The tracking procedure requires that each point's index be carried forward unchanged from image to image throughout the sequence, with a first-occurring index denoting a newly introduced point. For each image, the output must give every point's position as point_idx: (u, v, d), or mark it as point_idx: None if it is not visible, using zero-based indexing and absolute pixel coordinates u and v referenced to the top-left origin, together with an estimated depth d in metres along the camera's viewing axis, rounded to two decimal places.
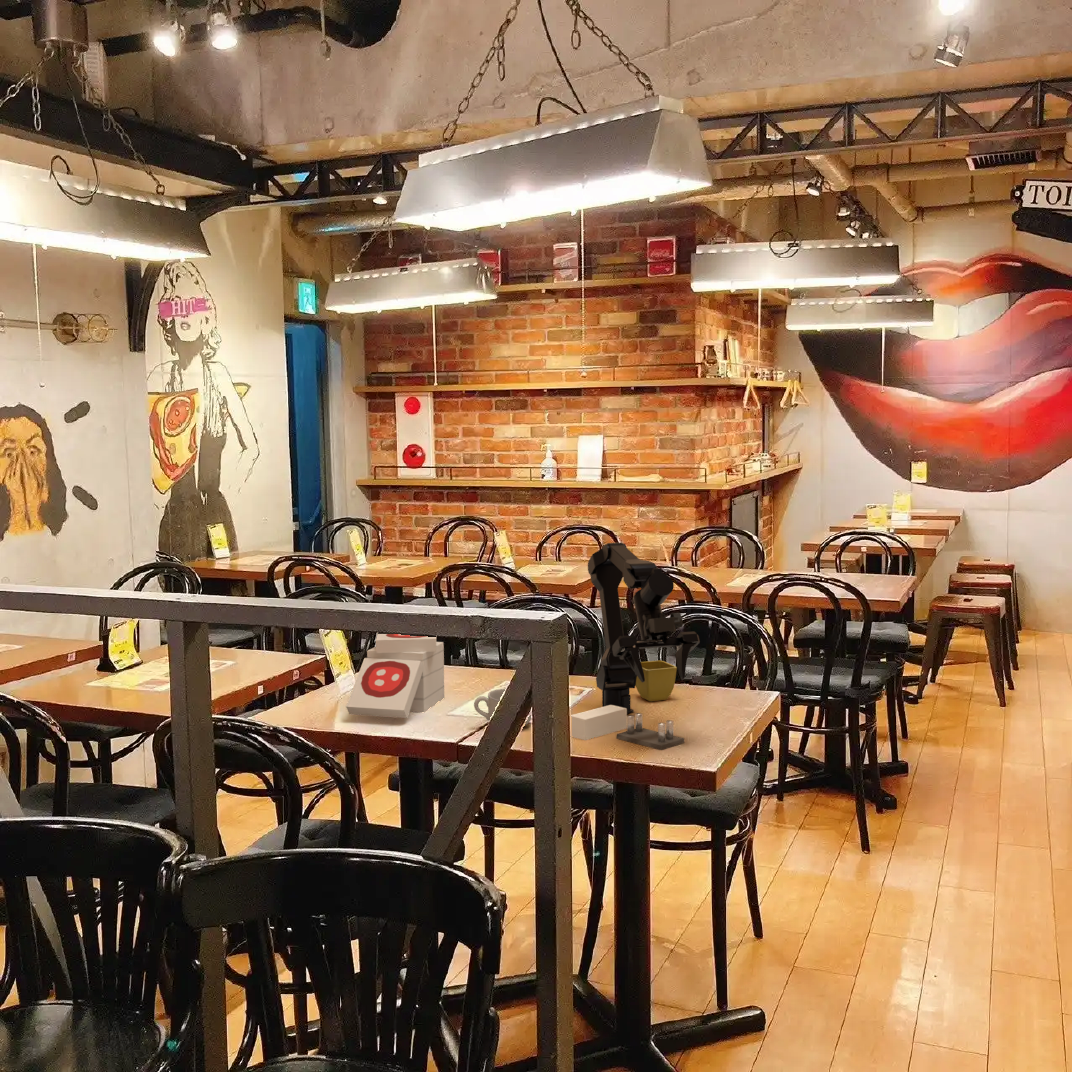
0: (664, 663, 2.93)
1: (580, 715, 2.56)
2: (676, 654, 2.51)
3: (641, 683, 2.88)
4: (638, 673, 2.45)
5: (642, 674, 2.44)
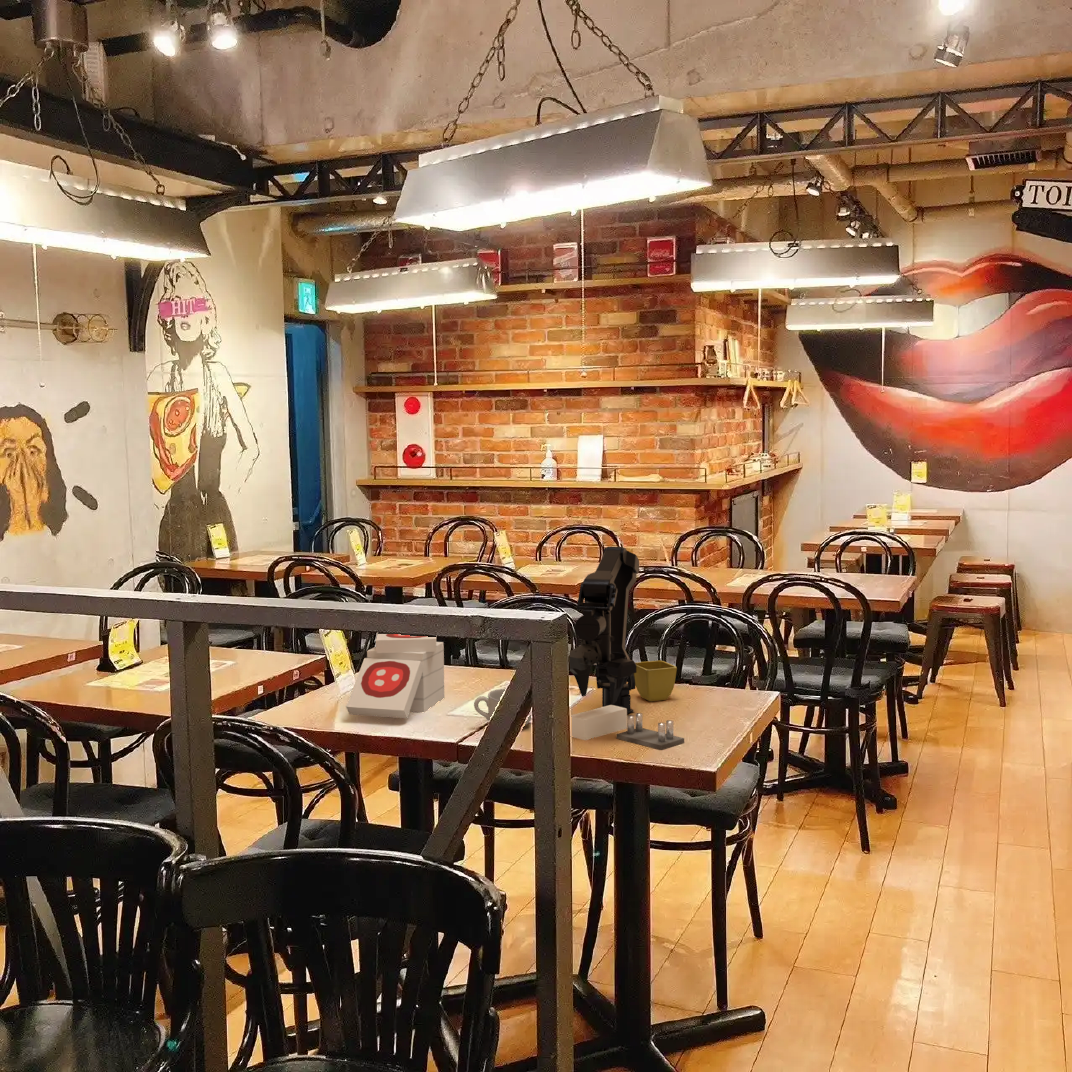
0: (664, 663, 2.93)
1: (580, 715, 2.56)
2: None
3: (641, 683, 2.88)
4: None
5: (580, 690, 2.62)
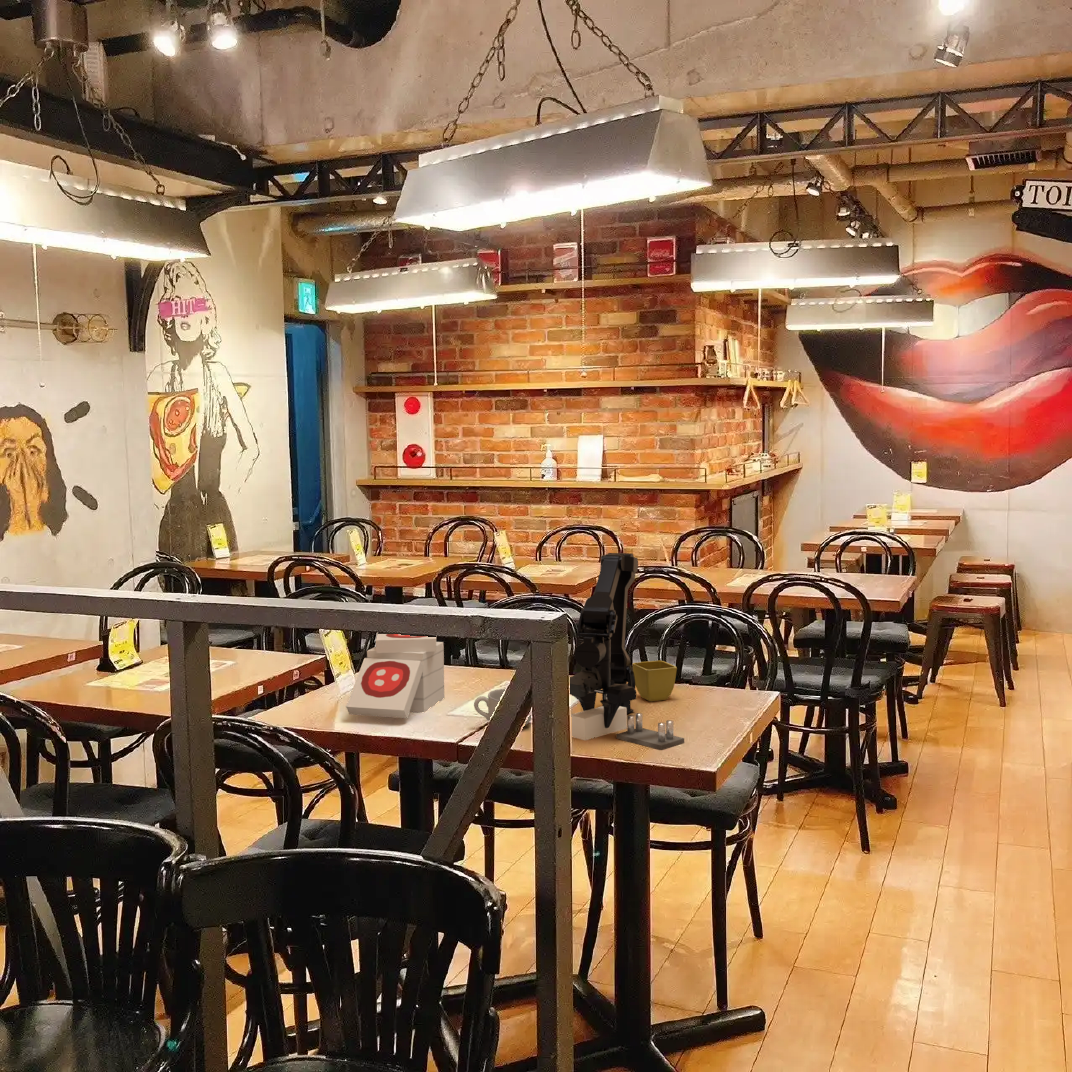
0: (664, 663, 2.93)
1: (580, 714, 2.56)
2: None
3: (641, 683, 2.88)
4: None
5: None
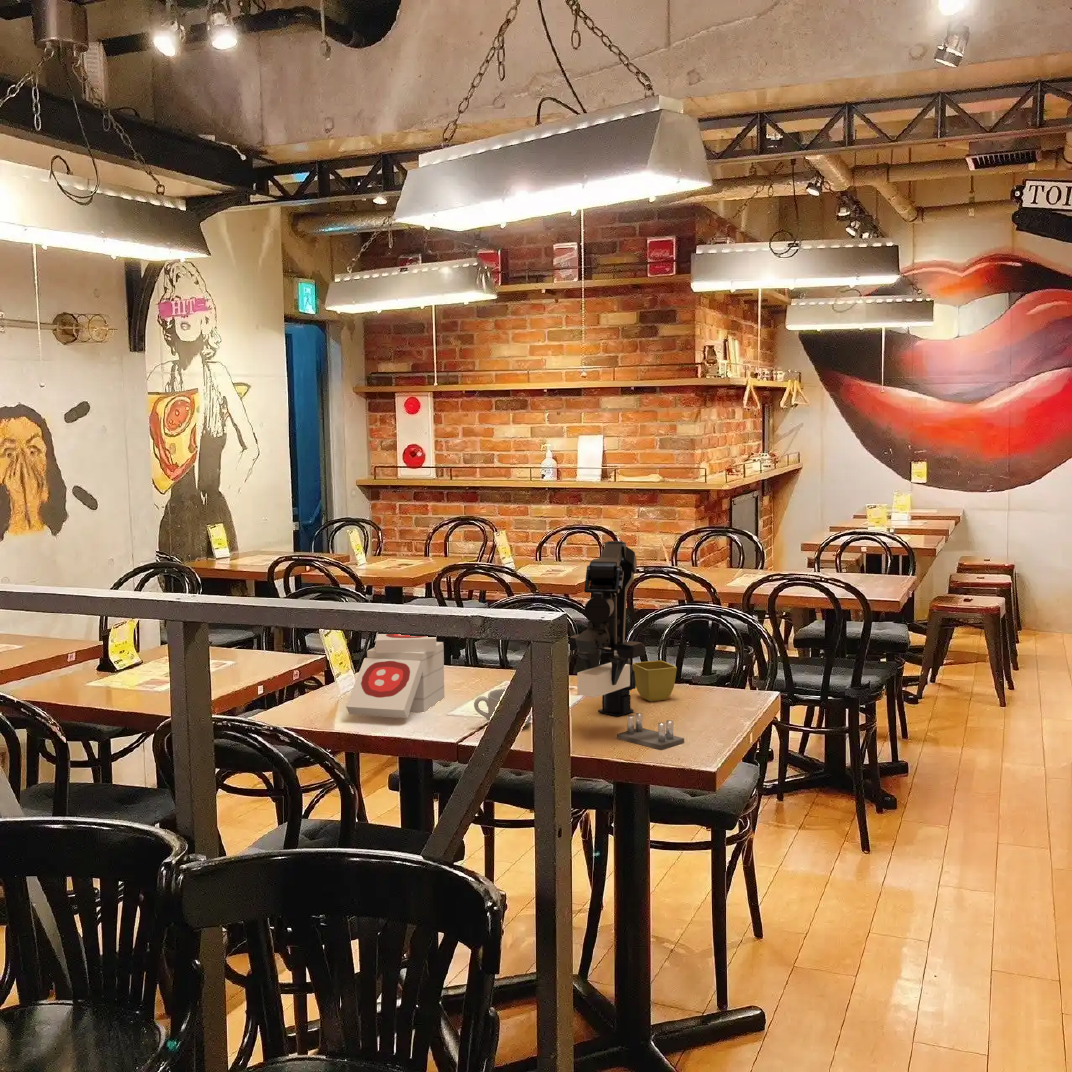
0: (664, 663, 2.93)
1: (588, 671, 2.54)
2: None
3: (641, 683, 2.88)
4: None
5: None
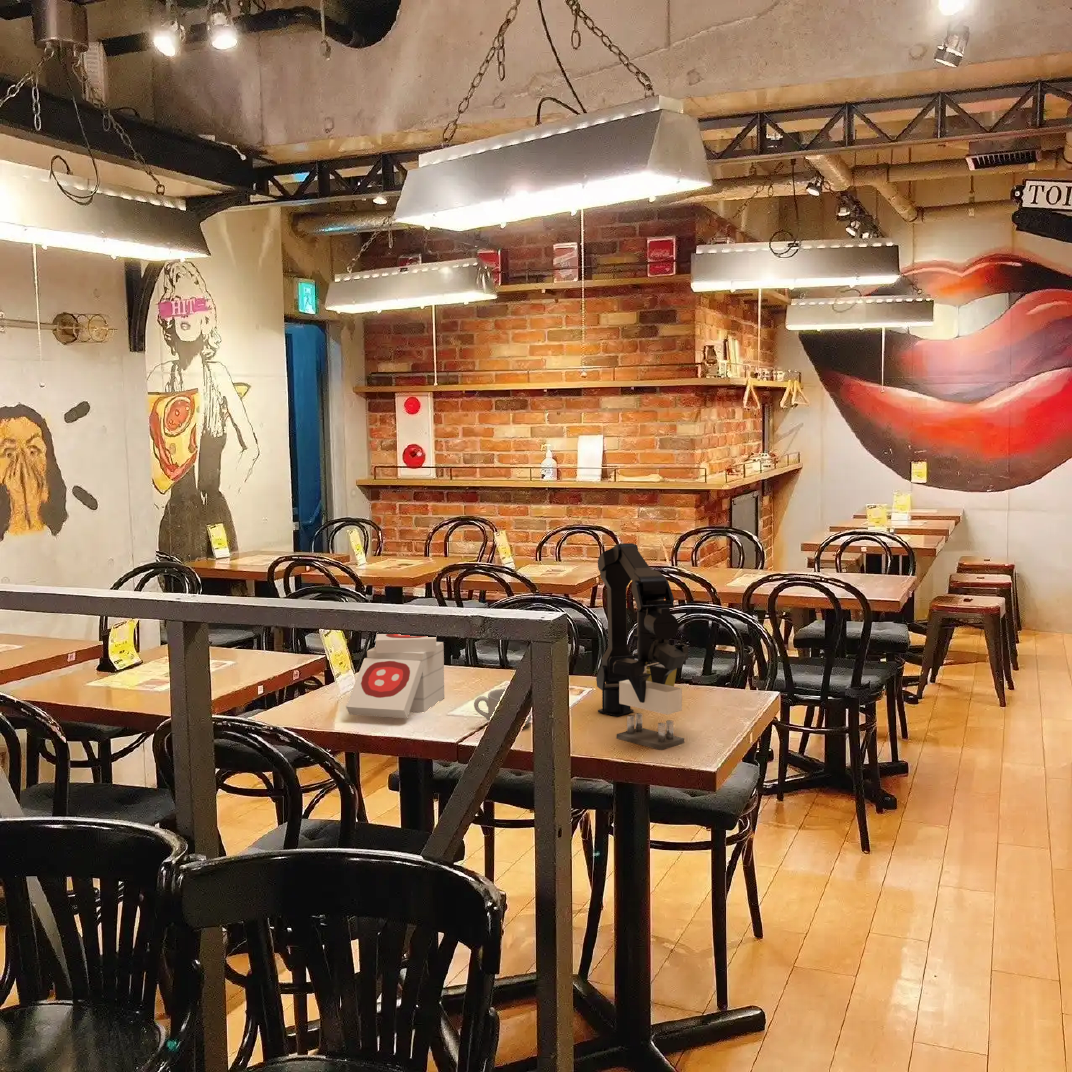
0: None
1: (665, 689, 2.47)
2: (653, 668, 2.54)
3: None
4: (639, 694, 2.49)
5: (644, 696, 2.49)
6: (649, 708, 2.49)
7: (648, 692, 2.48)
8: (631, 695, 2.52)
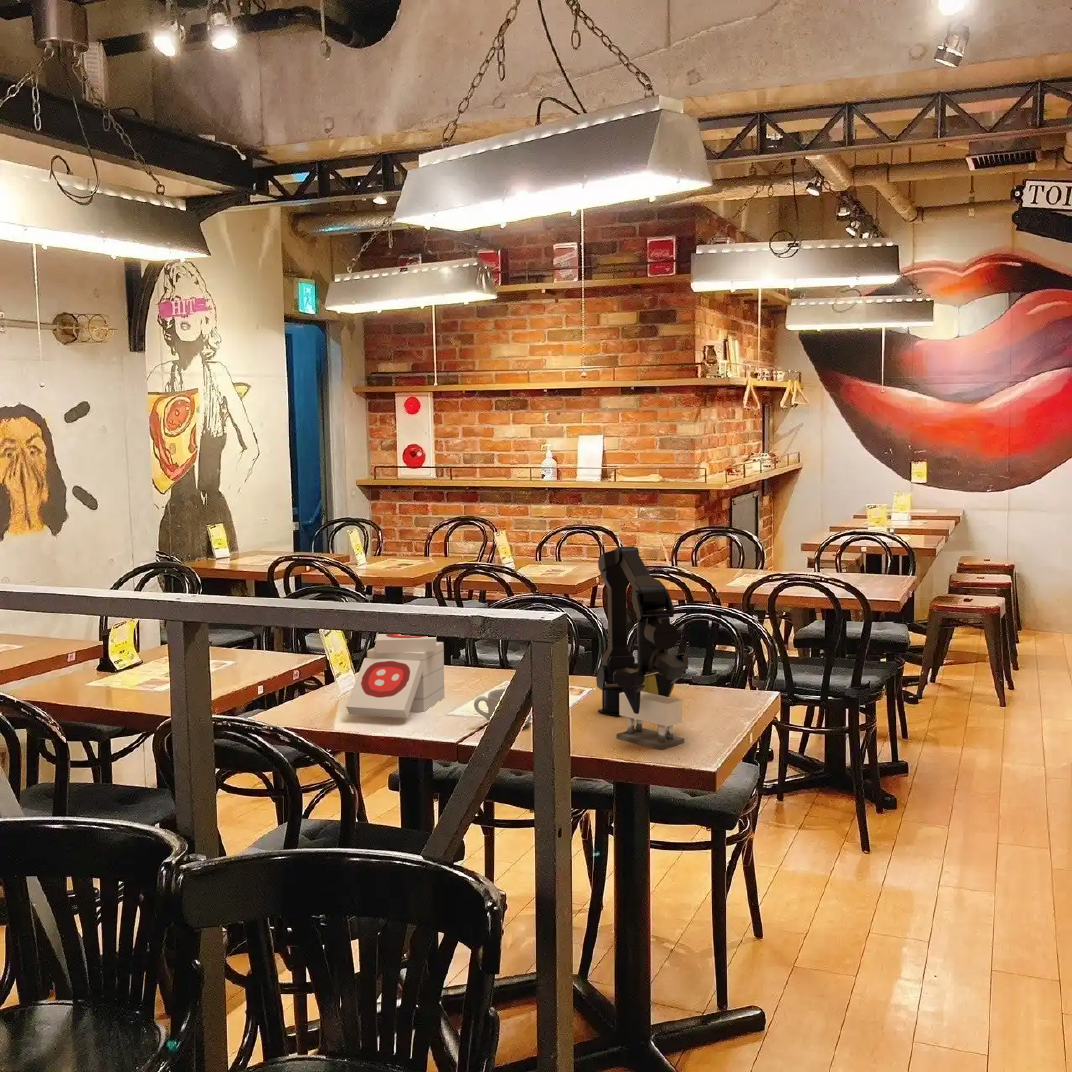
0: None
1: (664, 701, 2.47)
2: (658, 676, 2.56)
3: None
4: (634, 705, 2.48)
5: (638, 708, 2.48)
6: (649, 720, 2.49)
7: (648, 703, 2.49)
8: (631, 707, 2.52)
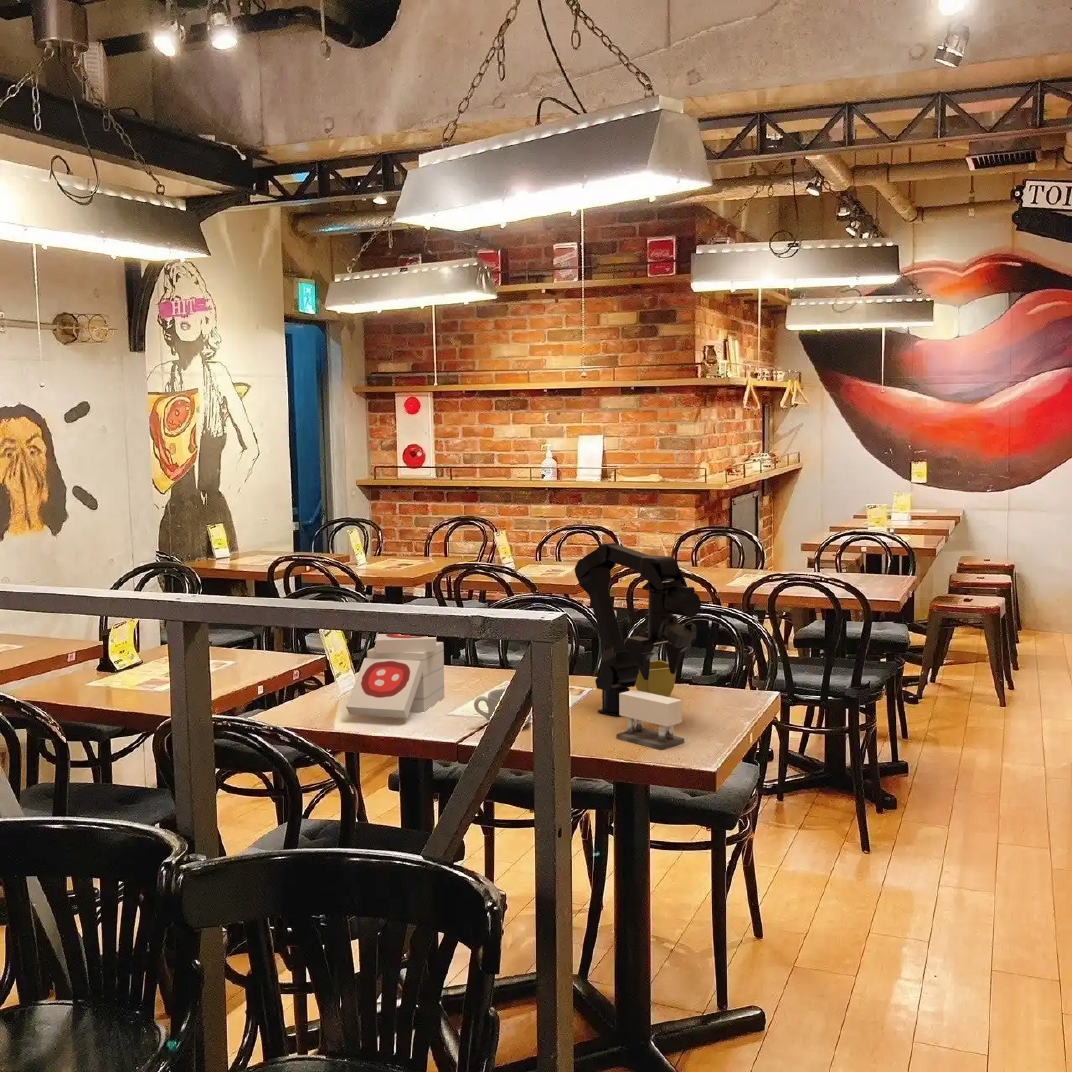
0: (664, 663, 2.93)
1: (664, 701, 2.47)
2: (668, 645, 2.67)
3: (641, 683, 2.88)
4: (643, 672, 2.60)
5: (648, 674, 2.60)
6: (649, 720, 2.49)
7: (648, 703, 2.49)
8: (631, 707, 2.52)
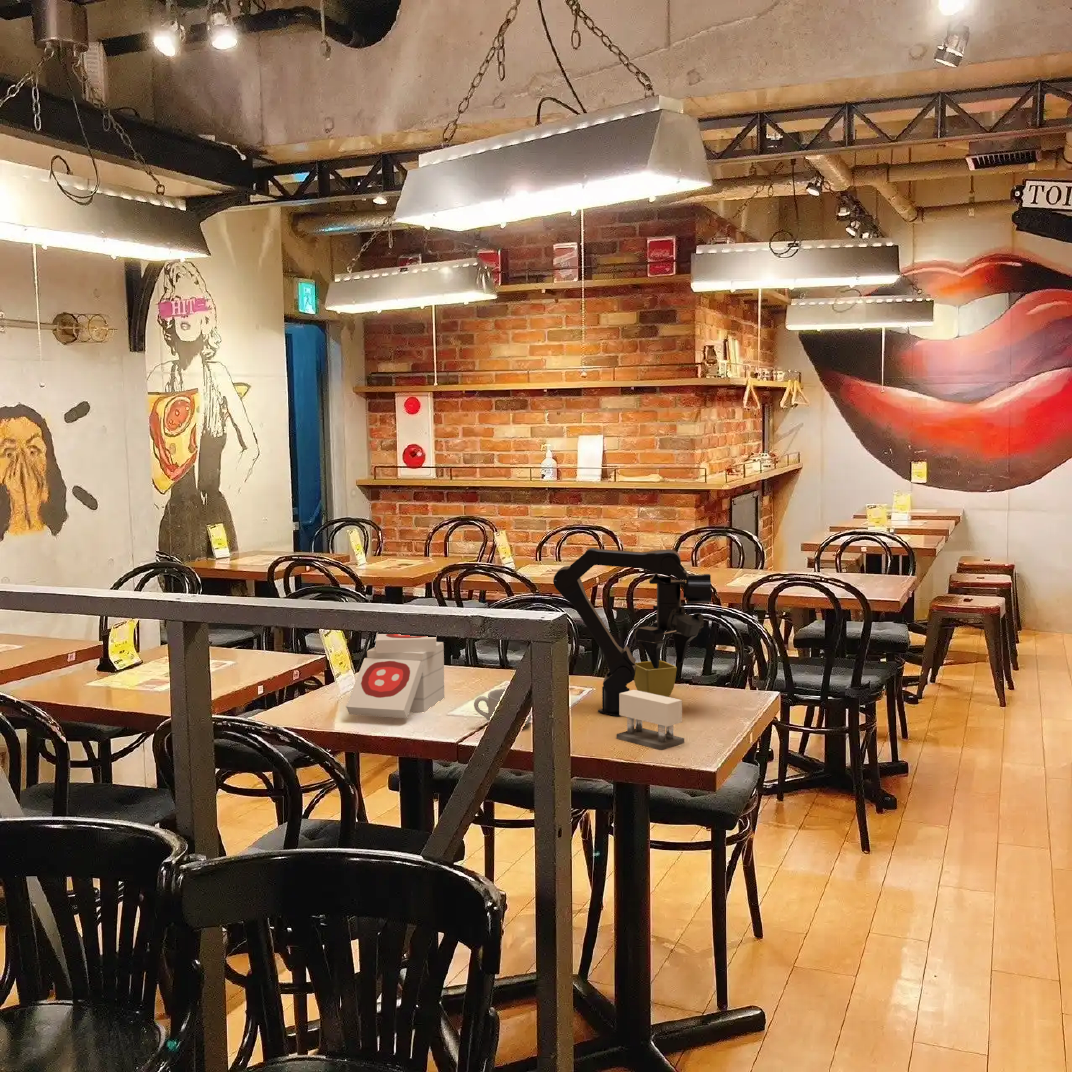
0: (664, 663, 2.93)
1: (664, 701, 2.47)
2: (676, 635, 2.78)
3: (641, 683, 2.88)
4: (654, 660, 2.70)
5: (658, 663, 2.70)
6: (649, 720, 2.49)
7: (648, 703, 2.49)
8: (631, 707, 2.52)
